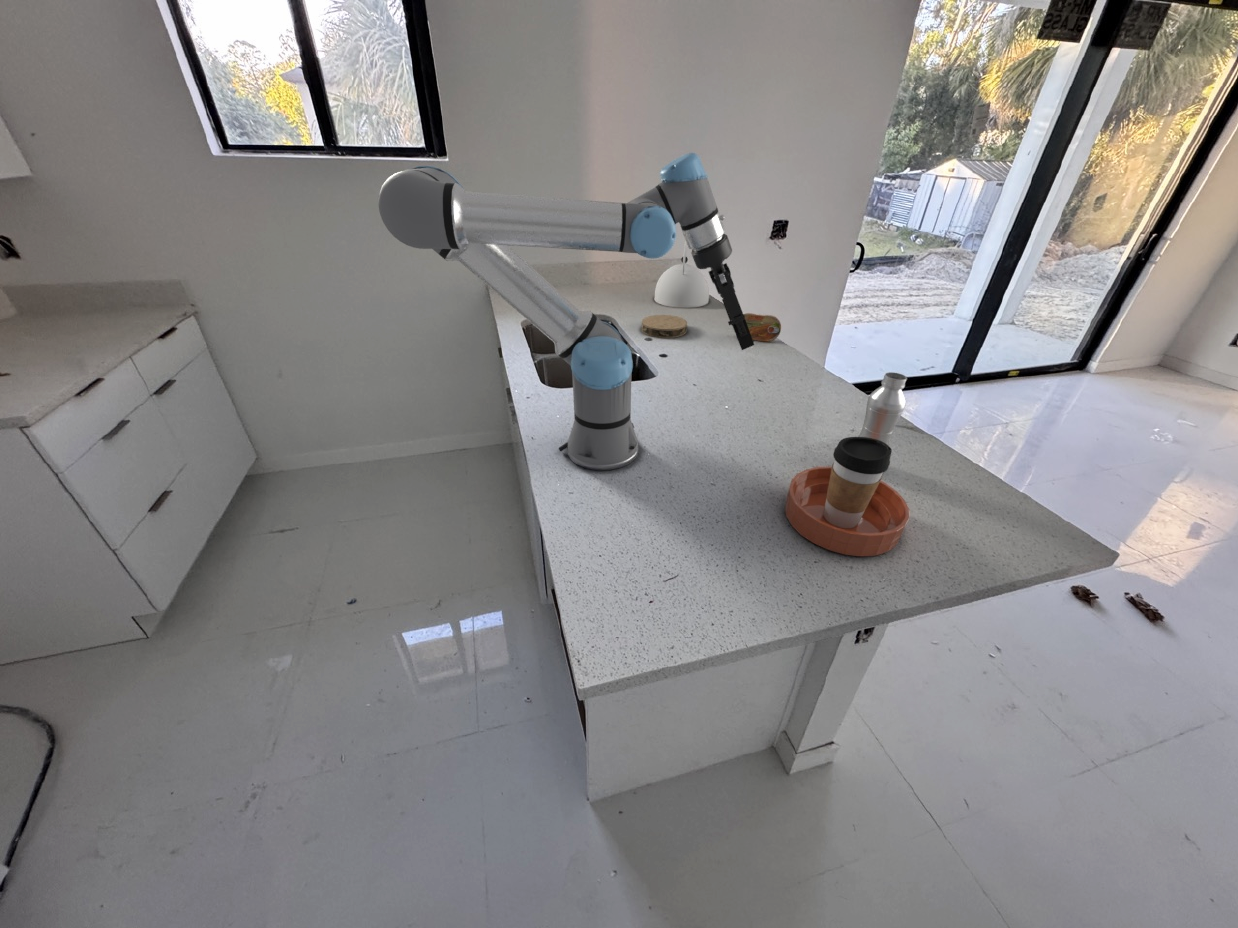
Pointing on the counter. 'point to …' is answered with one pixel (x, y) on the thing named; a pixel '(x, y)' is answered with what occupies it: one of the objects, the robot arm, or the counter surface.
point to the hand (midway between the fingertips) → (742, 334)
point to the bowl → (866, 539)
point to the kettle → (682, 286)
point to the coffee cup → (854, 479)
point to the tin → (763, 327)
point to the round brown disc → (664, 326)
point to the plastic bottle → (884, 408)
